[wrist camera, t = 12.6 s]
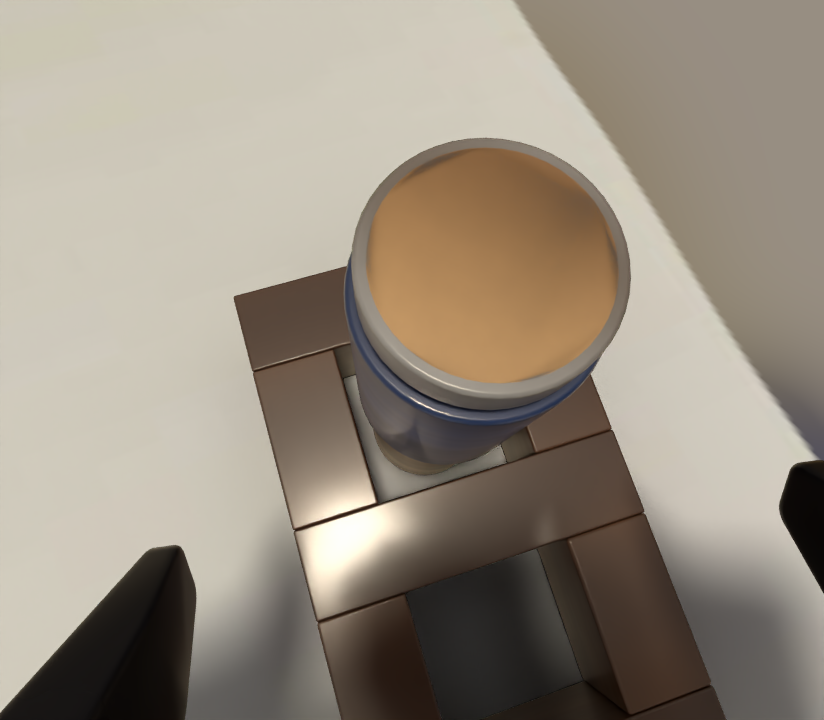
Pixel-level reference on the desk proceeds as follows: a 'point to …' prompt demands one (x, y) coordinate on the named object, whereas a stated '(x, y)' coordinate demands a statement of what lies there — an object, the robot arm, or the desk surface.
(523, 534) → the holder
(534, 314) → the travel flask
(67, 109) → the desk surface
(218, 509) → the desk surface
